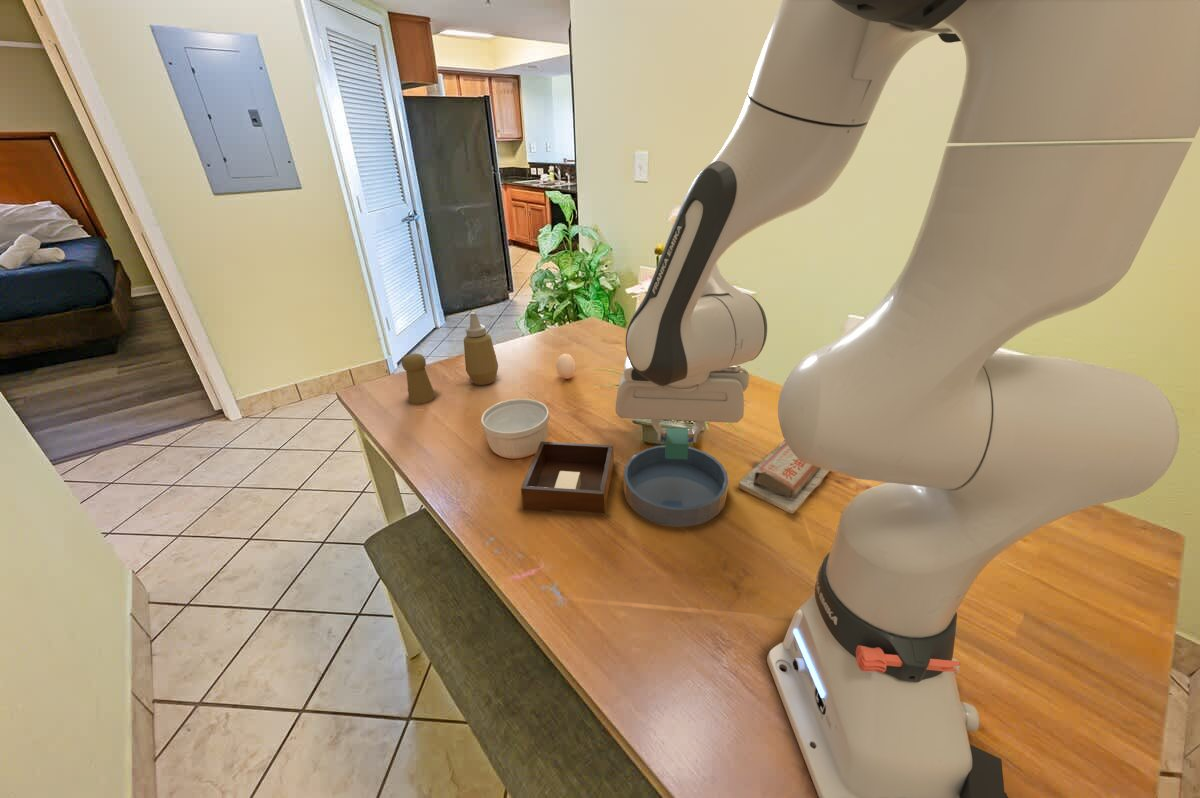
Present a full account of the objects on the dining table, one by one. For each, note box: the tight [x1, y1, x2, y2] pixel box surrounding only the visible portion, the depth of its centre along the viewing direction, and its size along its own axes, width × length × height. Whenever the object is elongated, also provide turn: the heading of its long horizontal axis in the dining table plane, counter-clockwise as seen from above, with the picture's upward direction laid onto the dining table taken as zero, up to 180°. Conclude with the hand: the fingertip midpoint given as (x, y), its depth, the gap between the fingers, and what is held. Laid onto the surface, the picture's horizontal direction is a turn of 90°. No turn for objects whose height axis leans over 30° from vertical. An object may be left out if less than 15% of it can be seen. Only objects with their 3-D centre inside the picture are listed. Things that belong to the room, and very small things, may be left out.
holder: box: [520, 441, 615, 514], centre depth 83 cm, size 14×14×4 cm
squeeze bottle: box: [463, 311, 499, 386], centre depth 117 cm, size 8×8×18 cm
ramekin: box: [480, 398, 550, 460], centre depth 94 cm, size 13×13×7 cm
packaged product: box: [738, 439, 831, 515], centre depth 83 cm, size 18×5×10 cm
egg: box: [556, 353, 577, 380], centre depth 120 cm, size 5×5×7 cm
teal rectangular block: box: [664, 427, 689, 459], centre depth 79 cm, size 5×4×3 cm
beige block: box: [554, 471, 581, 489], centre depth 80 cm, size 5×4×3 cm
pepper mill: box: [401, 353, 436, 405], centre depth 112 cm, size 6×6×11 cm
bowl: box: [623, 444, 729, 528], centre depth 80 cm, size 17×17×4 cm
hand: (676, 440), depth 79 cm, fingers closed on teal rectangular block, 3 cm apart
